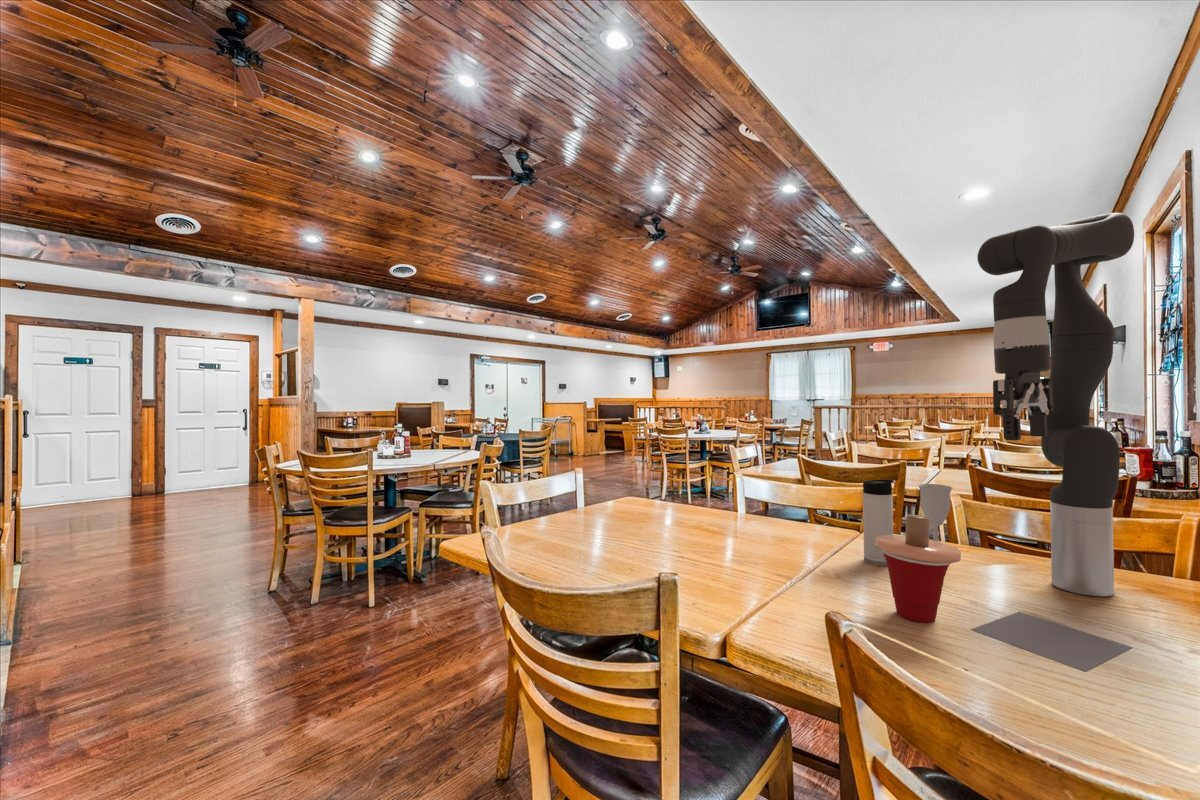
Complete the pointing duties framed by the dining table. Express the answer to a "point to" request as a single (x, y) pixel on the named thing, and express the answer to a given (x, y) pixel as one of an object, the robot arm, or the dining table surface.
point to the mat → (1053, 640)
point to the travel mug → (876, 518)
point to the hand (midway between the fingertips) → (1025, 438)
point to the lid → (918, 543)
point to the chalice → (935, 504)
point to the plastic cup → (916, 587)
